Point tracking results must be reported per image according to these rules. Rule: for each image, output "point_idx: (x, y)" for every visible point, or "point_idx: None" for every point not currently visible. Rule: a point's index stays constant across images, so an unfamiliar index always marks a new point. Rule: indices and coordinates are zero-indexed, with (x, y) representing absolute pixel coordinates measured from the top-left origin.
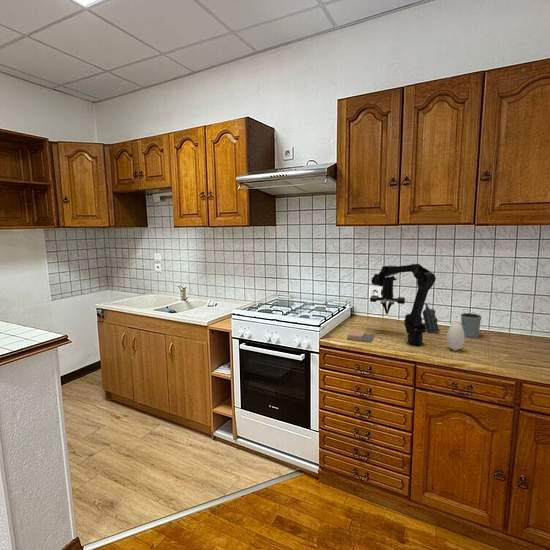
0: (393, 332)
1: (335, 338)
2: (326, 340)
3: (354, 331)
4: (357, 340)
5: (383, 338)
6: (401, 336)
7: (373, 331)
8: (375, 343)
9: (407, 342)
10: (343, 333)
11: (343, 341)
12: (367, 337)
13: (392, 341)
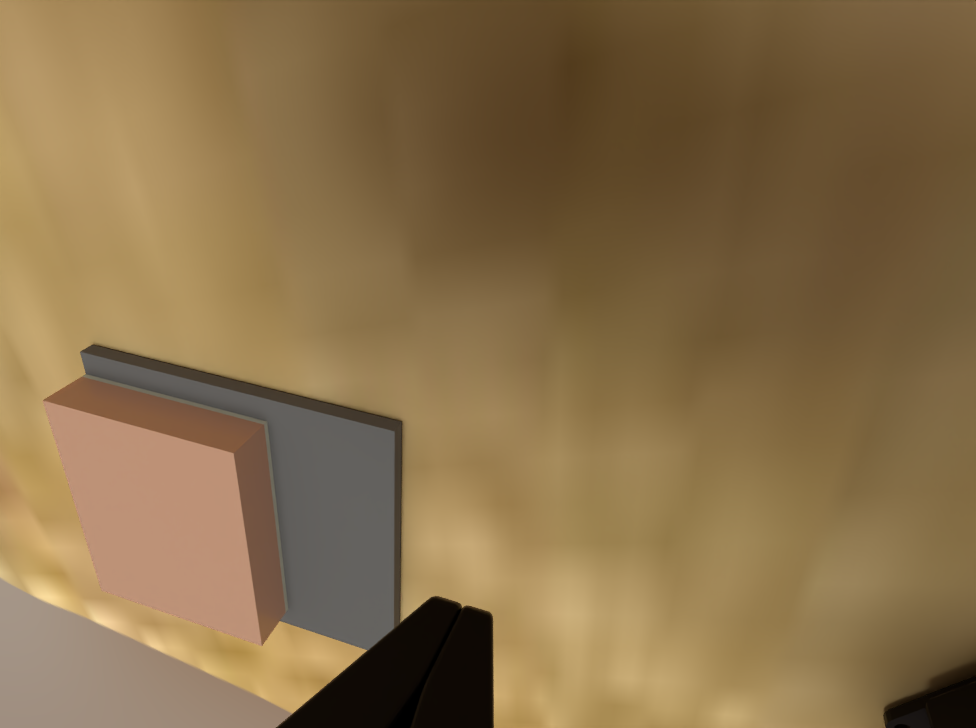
0: (791, 107)
1: (35, 523)
2: (4, 575)
3: (109, 465)
4: None
5: (545, 508)
6: (914, 386)
7: (351, 135)
8: None
9: (903, 723)
10: (8, 341)
11: None
12: (324, 530)
13: (673, 621)
